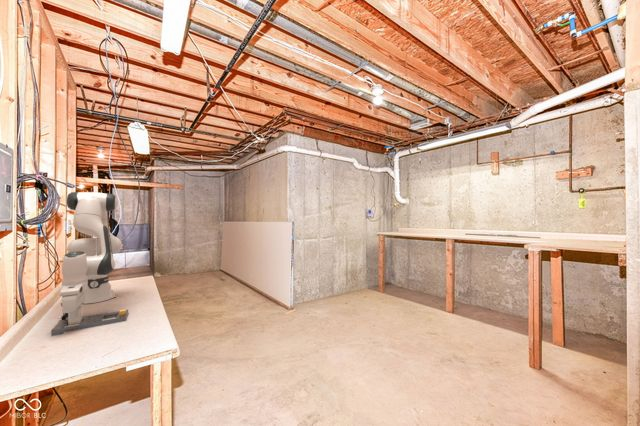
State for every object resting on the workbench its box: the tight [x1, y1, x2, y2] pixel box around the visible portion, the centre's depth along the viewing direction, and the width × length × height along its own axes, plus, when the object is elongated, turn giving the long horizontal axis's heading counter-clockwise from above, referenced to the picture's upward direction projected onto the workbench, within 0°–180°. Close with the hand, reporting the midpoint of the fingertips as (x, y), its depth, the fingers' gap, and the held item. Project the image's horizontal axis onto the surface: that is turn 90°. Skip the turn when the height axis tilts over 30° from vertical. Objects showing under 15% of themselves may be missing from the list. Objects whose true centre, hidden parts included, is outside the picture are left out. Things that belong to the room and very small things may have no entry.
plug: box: [68, 305, 83, 325], centre depth 121 cm, size 4×4×9 cm
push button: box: [57, 302, 68, 322], centre depth 130 cm, size 7×5×10 cm
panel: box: [50, 309, 129, 337], centre depth 124 cm, size 12×26×3 cm, turn 121°
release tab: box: [118, 309, 127, 315], centre depth 130 cm, size 2×2×4 cm
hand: (75, 316), depth 121 cm, fingers closed on plug, 4 cm apart
